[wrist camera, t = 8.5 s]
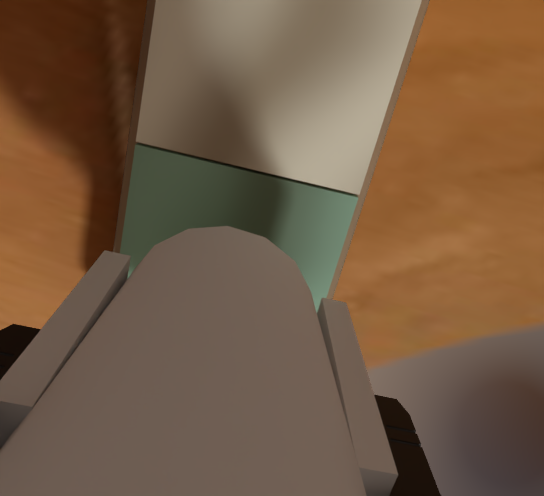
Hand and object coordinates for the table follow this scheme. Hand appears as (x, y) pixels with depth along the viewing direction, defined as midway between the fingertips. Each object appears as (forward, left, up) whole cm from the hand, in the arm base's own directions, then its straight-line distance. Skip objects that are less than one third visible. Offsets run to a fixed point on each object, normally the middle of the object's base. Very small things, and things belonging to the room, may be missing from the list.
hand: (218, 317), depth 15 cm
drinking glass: (0, 0, 0) cm, 0 cm away
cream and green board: (0, +4, -5) cm, 6 cm away
